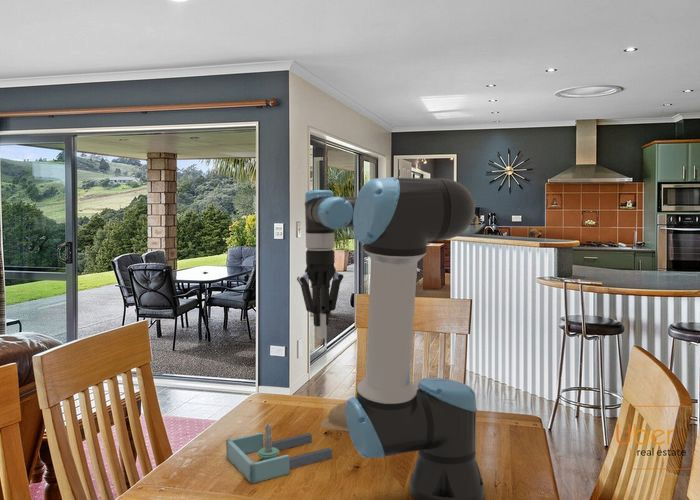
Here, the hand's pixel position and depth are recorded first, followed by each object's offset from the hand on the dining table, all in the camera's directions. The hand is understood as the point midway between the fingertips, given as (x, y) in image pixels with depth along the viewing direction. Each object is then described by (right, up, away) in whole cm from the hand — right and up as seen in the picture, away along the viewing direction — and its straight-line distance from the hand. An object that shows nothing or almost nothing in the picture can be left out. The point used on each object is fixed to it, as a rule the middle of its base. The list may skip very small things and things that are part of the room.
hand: (321, 337), depth 155 cm
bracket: (-14, -26, -20) cm, 36 cm away
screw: (-11, -26, -19) cm, 34 cm away
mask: (+14, -25, +4) cm, 28 cm away
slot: (-5, -26, -15) cm, 30 cm away
